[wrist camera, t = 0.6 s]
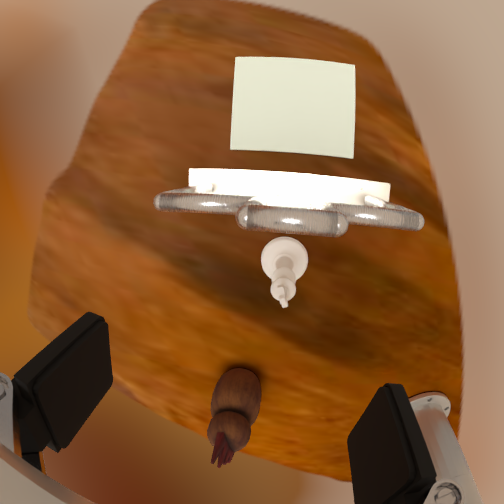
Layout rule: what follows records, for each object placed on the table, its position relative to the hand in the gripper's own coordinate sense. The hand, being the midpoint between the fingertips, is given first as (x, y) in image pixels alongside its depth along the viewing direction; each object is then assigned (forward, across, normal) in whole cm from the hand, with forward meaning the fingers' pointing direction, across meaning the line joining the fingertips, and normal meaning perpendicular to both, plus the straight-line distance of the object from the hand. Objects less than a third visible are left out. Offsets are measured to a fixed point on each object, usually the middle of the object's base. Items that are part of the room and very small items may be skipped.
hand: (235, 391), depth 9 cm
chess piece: (+23, -2, +2) cm, 23 cm away
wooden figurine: (+23, 0, +20) cm, 30 cm away
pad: (+22, +1, -14) cm, 26 cm away
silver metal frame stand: (+22, -1, -5) cm, 23 cm away
